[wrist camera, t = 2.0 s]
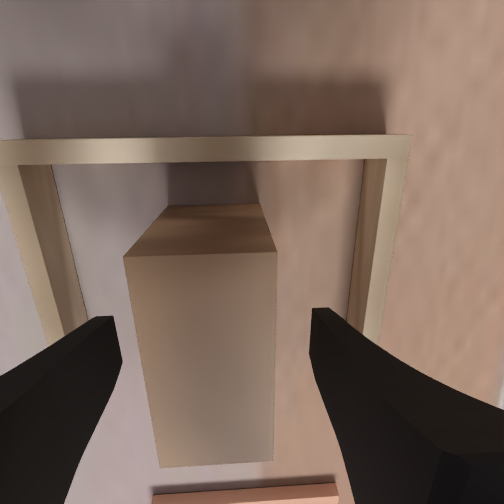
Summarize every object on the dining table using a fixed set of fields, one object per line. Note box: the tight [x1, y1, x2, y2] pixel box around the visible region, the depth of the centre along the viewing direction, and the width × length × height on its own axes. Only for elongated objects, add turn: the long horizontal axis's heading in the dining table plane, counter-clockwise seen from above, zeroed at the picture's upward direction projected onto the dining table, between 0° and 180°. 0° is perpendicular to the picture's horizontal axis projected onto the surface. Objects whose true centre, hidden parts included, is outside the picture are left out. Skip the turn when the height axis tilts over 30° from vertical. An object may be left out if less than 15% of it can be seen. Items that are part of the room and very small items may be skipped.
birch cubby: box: [0, 134, 413, 347], centre depth 14 cm, size 15×12×2 cm
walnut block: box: [123, 204, 277, 468], centre depth 12 cm, size 4×8×6 cm, turn 1°
